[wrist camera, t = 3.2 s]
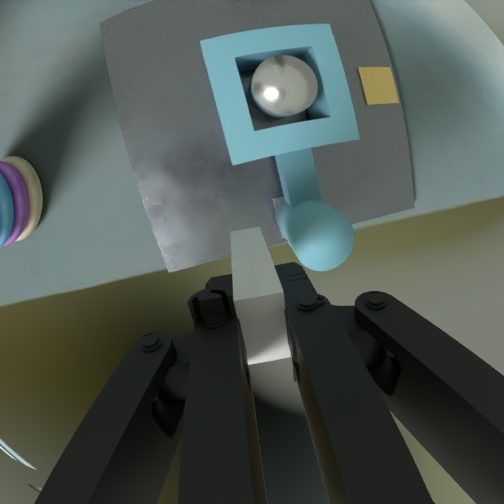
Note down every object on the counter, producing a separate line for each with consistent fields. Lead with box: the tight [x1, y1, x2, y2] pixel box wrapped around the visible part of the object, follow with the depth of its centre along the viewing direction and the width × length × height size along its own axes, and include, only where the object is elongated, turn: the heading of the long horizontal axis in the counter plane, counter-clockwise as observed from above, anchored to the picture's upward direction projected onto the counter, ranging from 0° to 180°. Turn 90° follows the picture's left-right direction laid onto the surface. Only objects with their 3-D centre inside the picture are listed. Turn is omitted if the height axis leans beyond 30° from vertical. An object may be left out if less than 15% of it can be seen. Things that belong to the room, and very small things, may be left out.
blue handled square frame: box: [200, 24, 360, 271], centre depth 16 cm, size 8×15×6 cm, turn 14°
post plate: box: [100, 0, 414, 272], centre depth 16 cm, size 22×22×6 cm
